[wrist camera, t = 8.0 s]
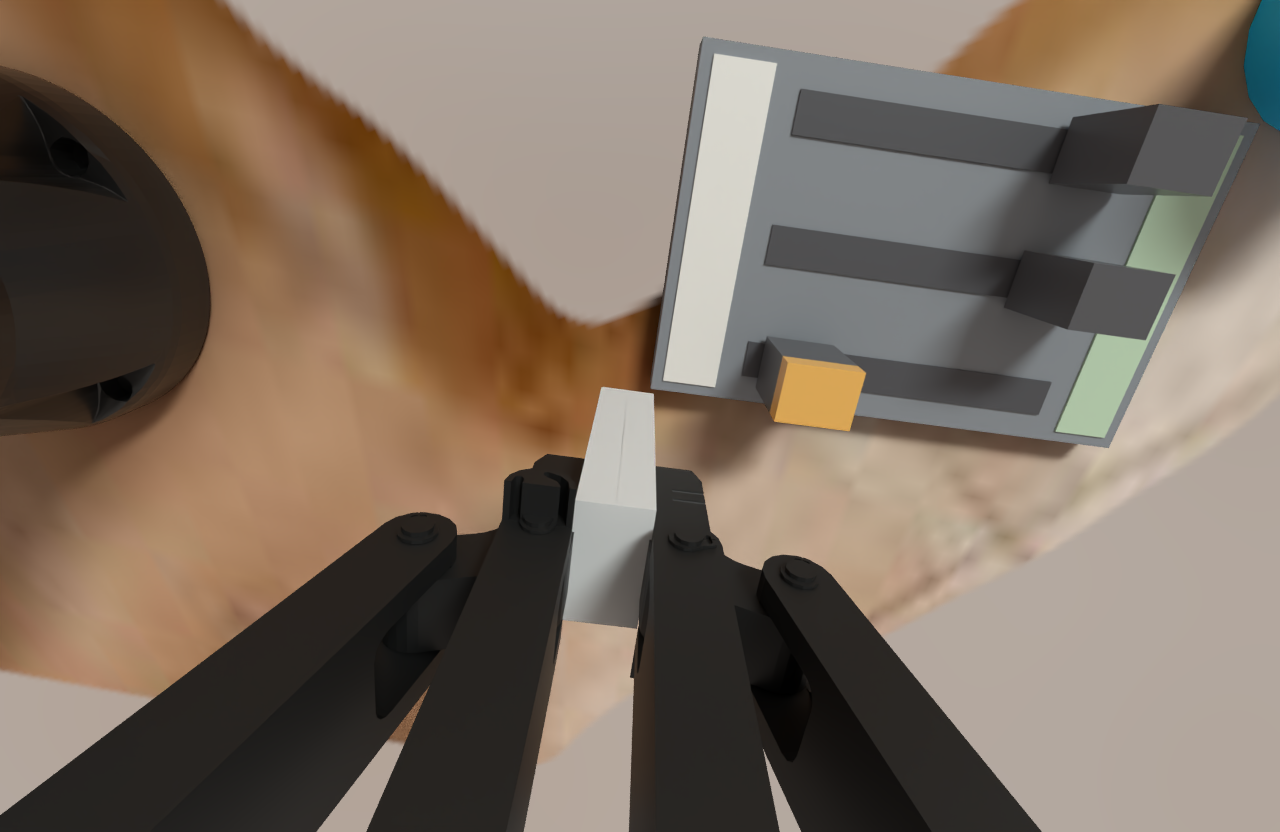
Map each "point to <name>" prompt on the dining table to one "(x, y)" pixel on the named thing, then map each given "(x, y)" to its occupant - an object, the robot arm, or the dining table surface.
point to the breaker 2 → (1088, 294)
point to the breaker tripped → (809, 383)
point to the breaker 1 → (1148, 151)
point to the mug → (1264, 62)
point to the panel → (904, 242)
